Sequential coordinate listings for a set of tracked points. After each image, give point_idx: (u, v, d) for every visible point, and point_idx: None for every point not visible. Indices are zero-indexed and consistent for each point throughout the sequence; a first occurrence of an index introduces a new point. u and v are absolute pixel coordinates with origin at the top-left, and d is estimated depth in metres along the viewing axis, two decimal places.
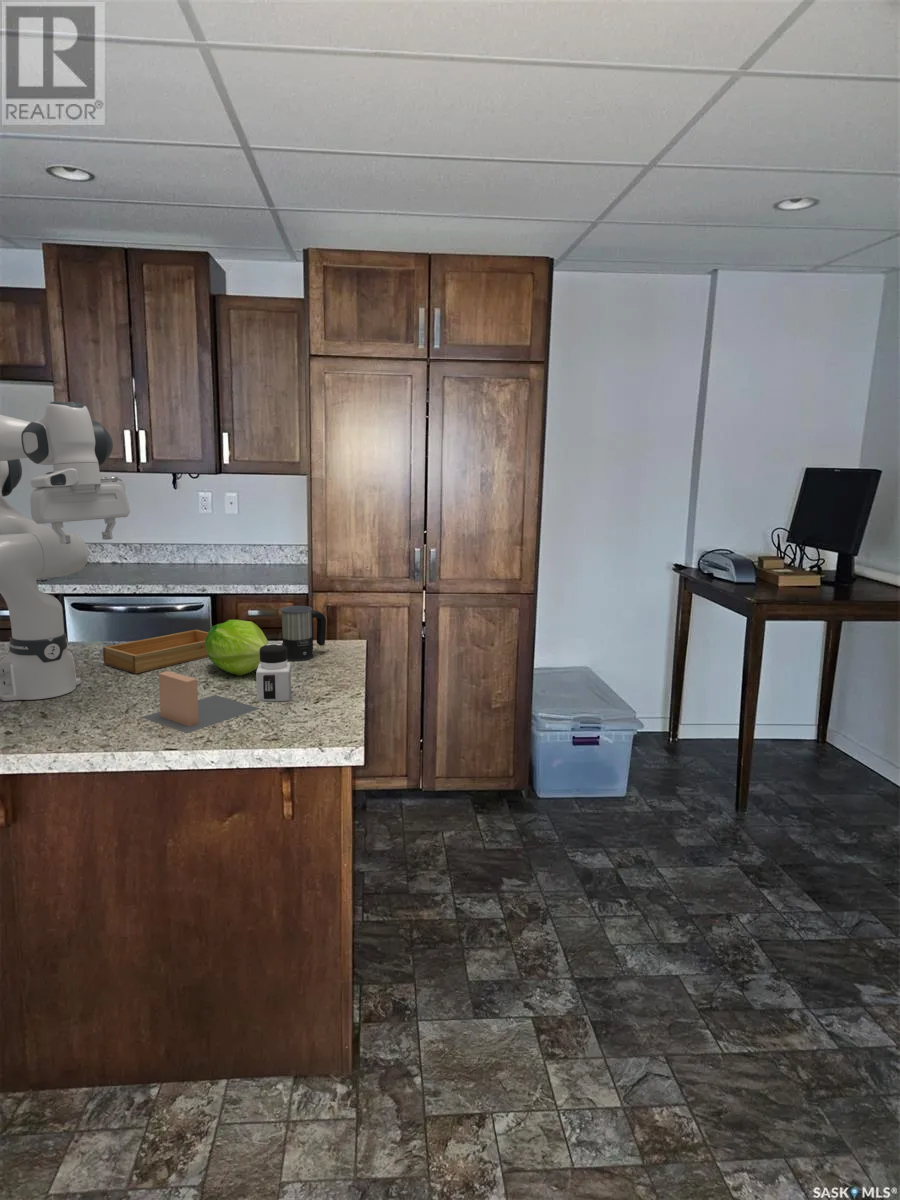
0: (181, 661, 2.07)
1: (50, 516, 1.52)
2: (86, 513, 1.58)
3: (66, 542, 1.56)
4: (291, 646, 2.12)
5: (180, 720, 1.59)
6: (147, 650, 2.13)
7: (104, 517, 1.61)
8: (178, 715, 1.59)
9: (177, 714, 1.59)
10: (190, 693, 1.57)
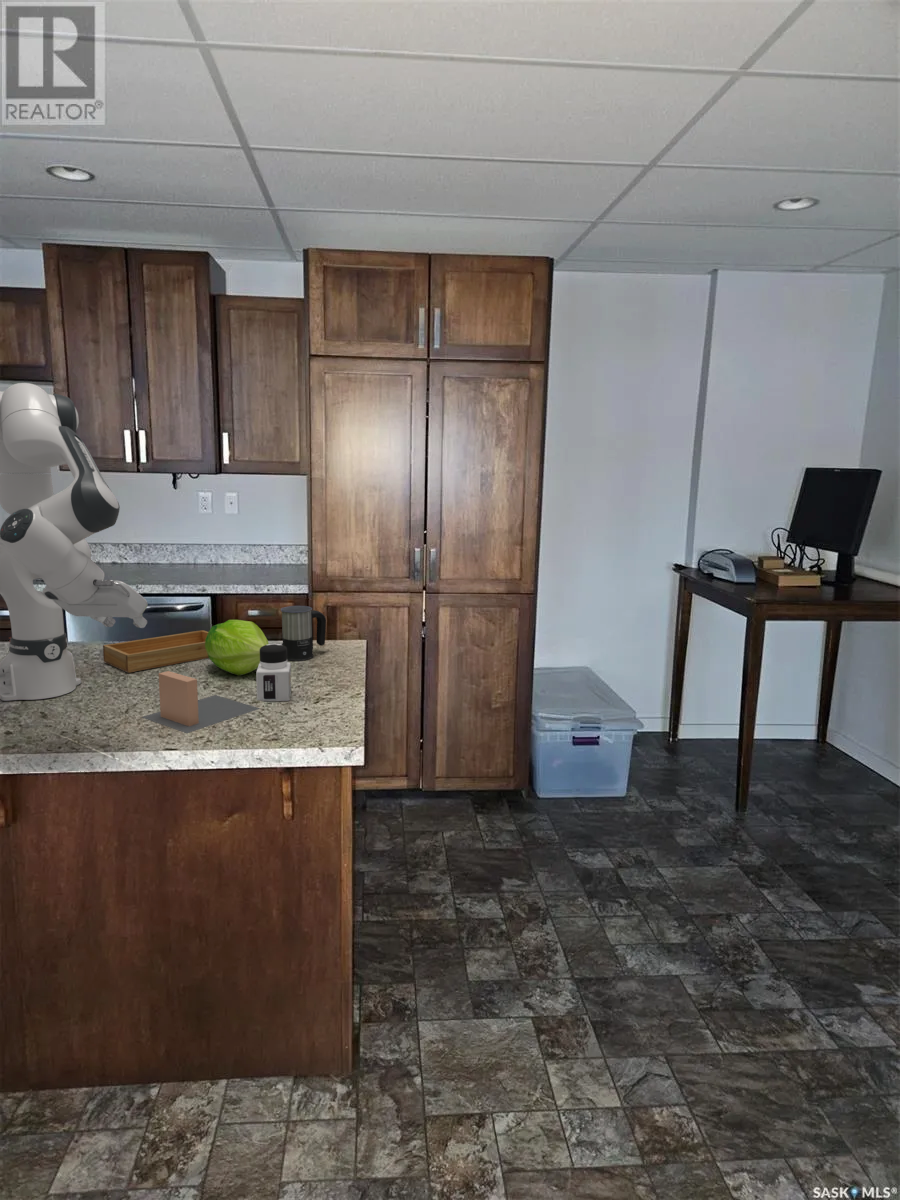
0: (178, 662, 2.06)
1: (75, 613, 1.47)
2: (100, 613, 1.44)
3: (108, 626, 1.50)
4: (291, 646, 2.12)
5: (180, 720, 1.59)
6: (149, 649, 2.14)
7: (118, 616, 1.43)
8: (178, 715, 1.59)
9: (177, 714, 1.59)
10: (190, 693, 1.57)
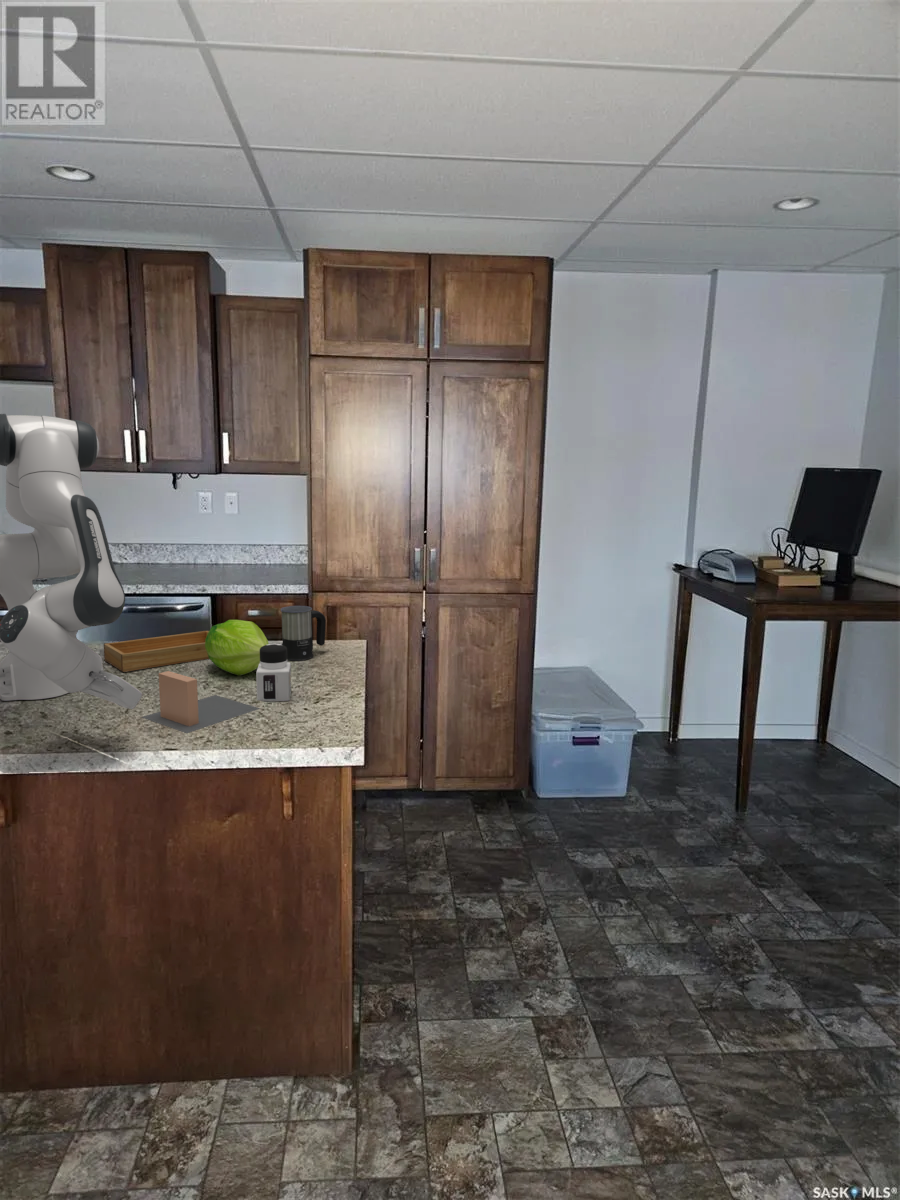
0: (175, 662, 2.06)
1: None
2: (99, 696, 1.45)
3: (121, 705, 1.50)
4: (291, 646, 2.12)
5: (180, 720, 1.59)
6: (151, 649, 2.15)
7: None
8: (178, 715, 1.59)
9: (177, 714, 1.59)
10: (190, 693, 1.57)
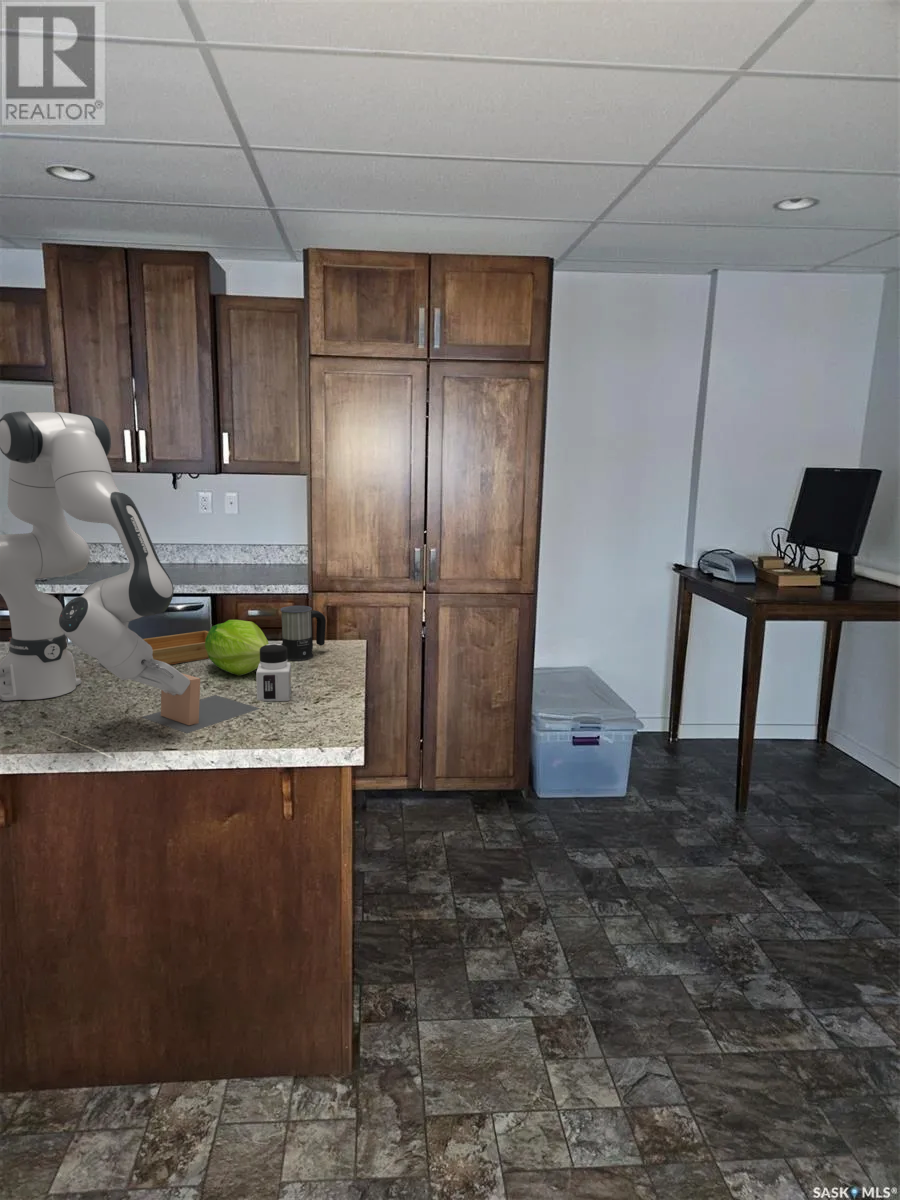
0: (176, 662, 2.06)
1: None
2: (148, 684, 1.54)
3: None
4: (291, 646, 2.12)
5: (180, 719, 1.59)
6: None
7: (164, 689, 1.53)
8: (179, 714, 1.59)
9: (178, 713, 1.60)
10: (193, 692, 1.58)
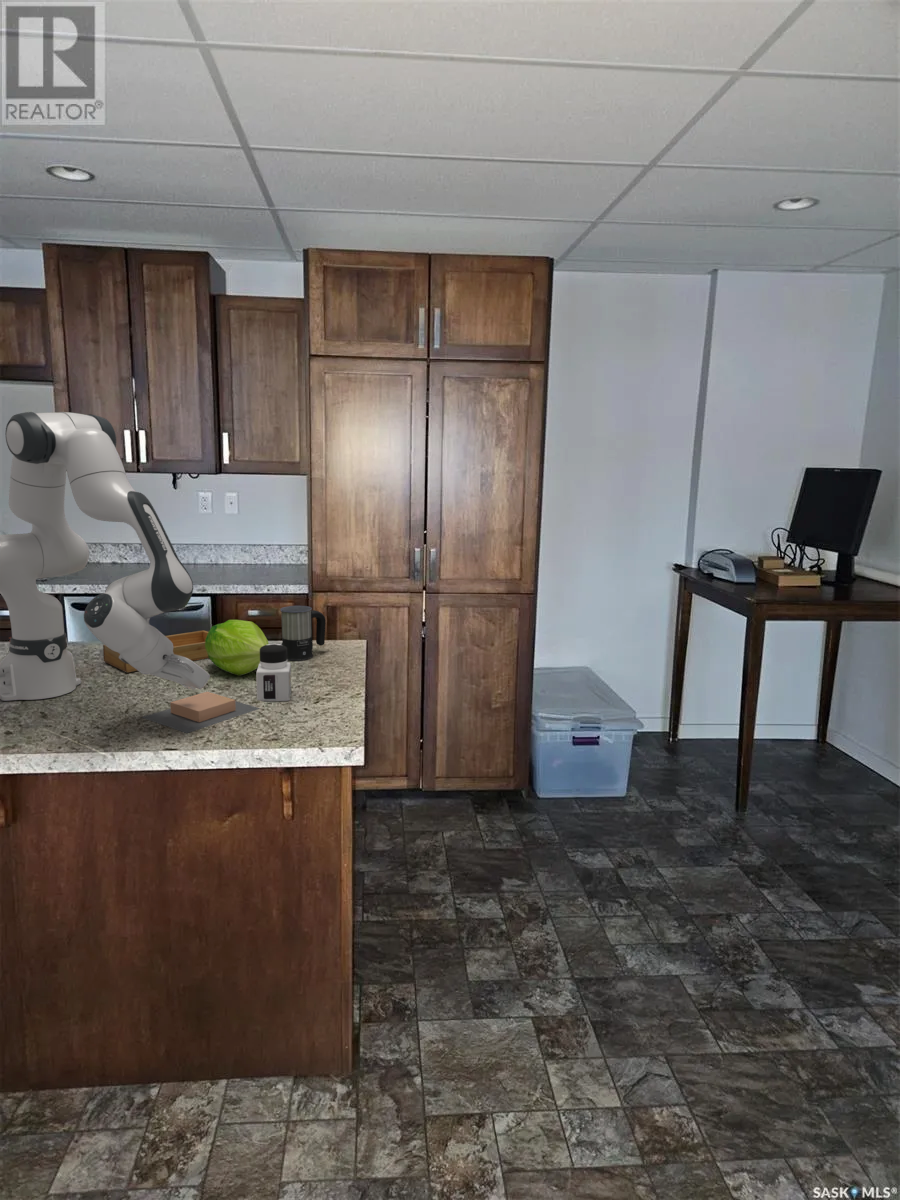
0: None
1: None
2: (169, 678, 1.58)
3: (186, 687, 1.63)
4: (291, 646, 2.12)
5: (192, 707, 1.62)
6: None
7: (184, 684, 1.57)
8: (195, 706, 1.63)
9: (194, 705, 1.63)
10: (225, 706, 1.65)
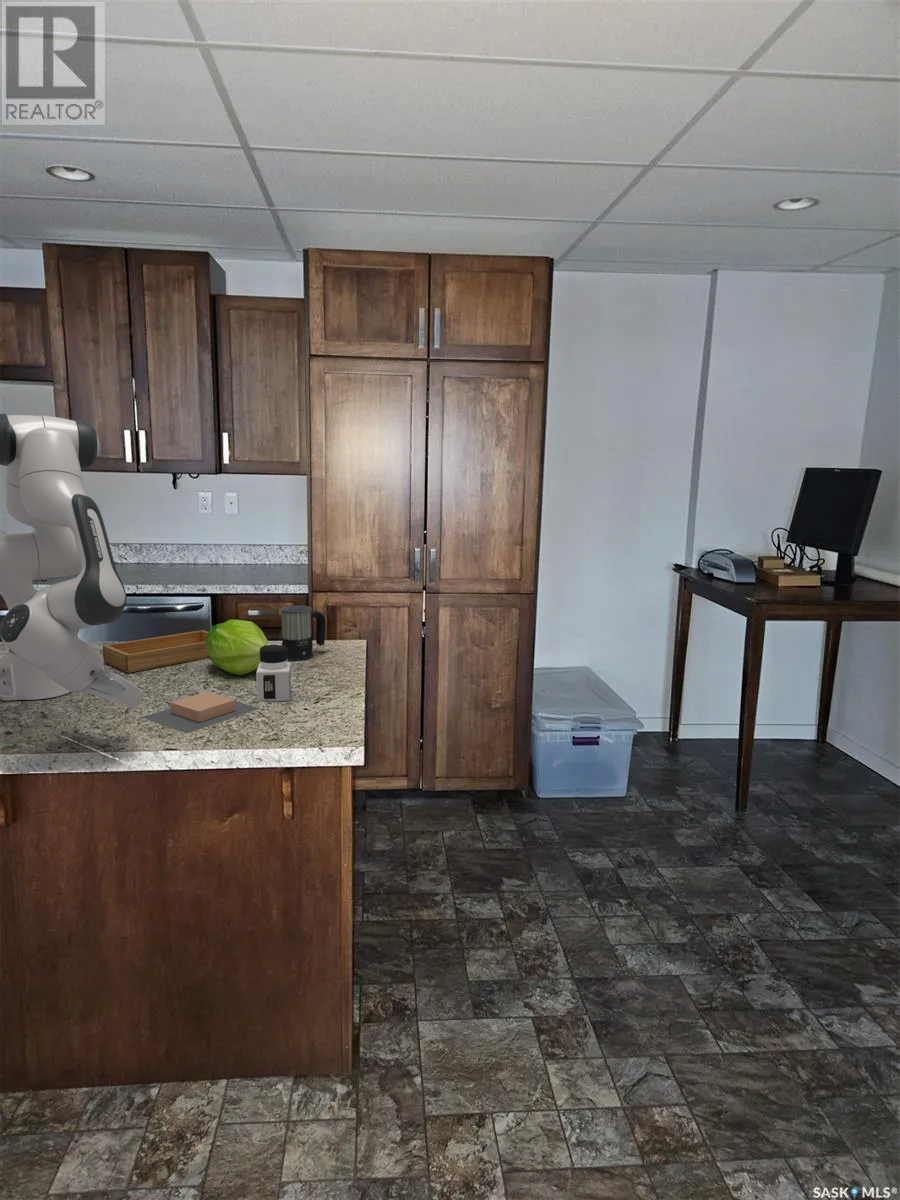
0: (178, 662, 2.06)
1: None
2: (100, 696, 1.45)
3: (122, 705, 1.50)
4: (291, 646, 2.12)
5: (192, 707, 1.62)
6: (149, 649, 2.14)
7: None
8: (195, 706, 1.63)
9: (194, 705, 1.63)
10: (225, 706, 1.65)
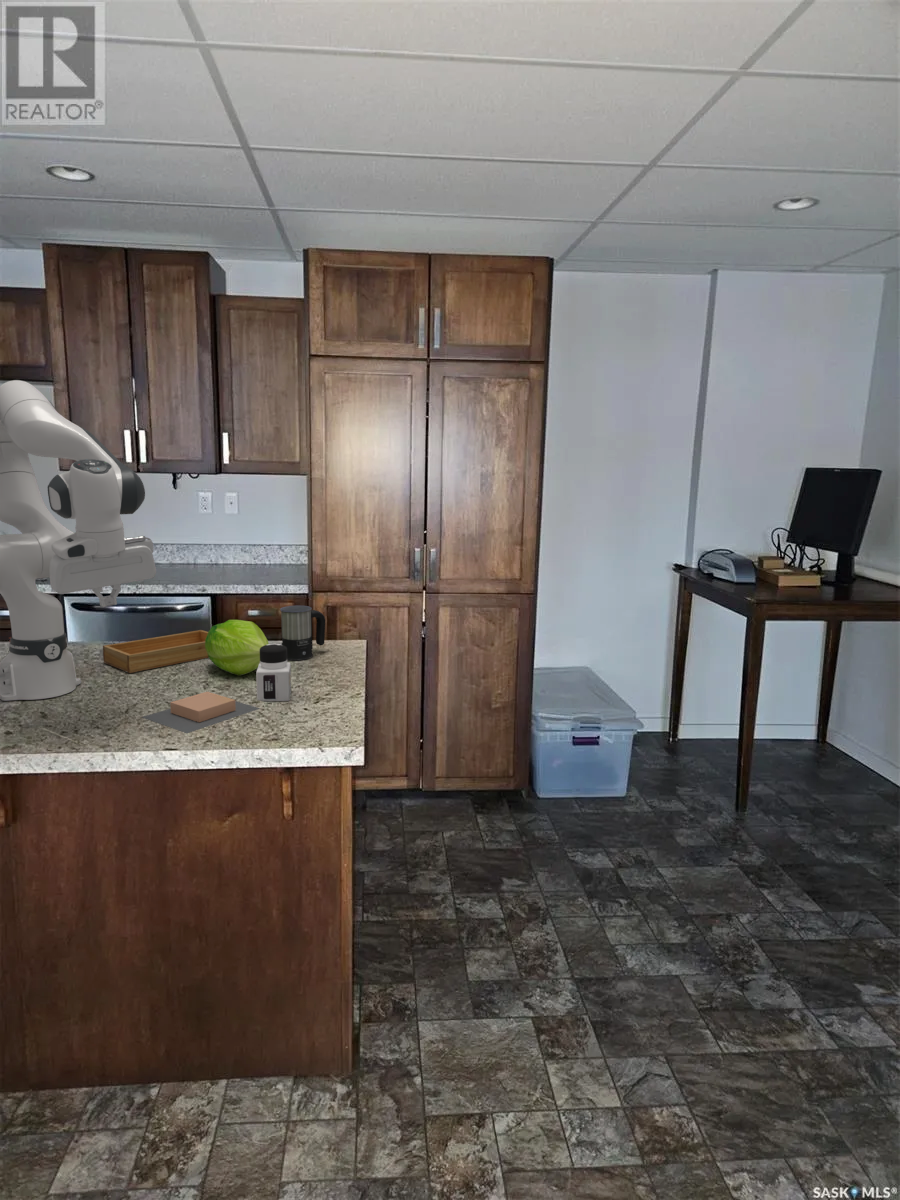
0: (178, 661, 2.06)
1: (67, 587, 1.45)
2: (107, 579, 1.50)
3: (105, 605, 1.52)
4: (291, 646, 2.12)
5: (192, 707, 1.62)
6: (149, 649, 2.14)
7: (127, 581, 1.53)
8: (195, 706, 1.63)
9: (194, 705, 1.63)
10: (225, 706, 1.65)
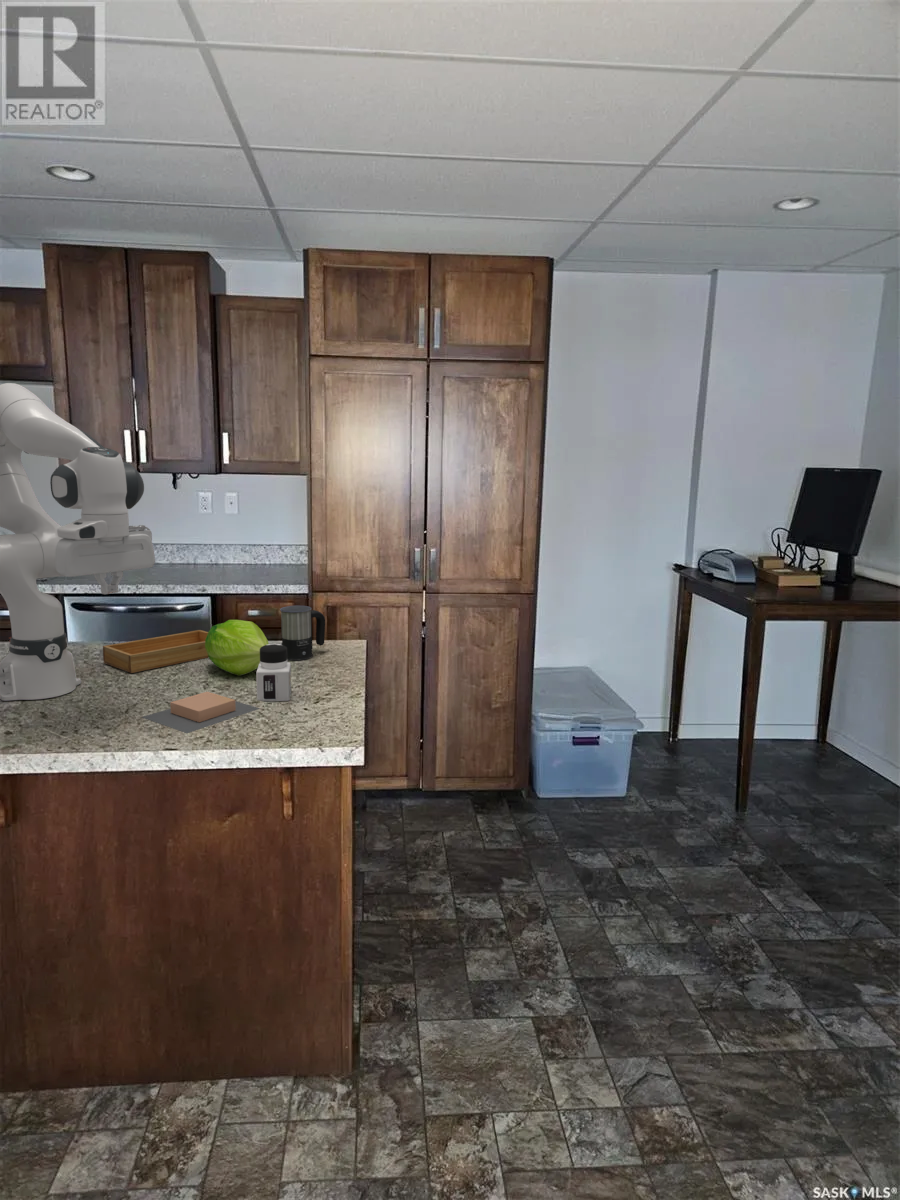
0: (179, 661, 2.07)
1: (76, 569, 1.45)
2: (112, 565, 1.52)
3: (108, 592, 1.53)
4: (291, 646, 2.12)
5: (192, 707, 1.62)
6: (148, 650, 2.14)
7: (129, 568, 1.55)
8: (195, 706, 1.63)
9: (194, 705, 1.63)
10: (225, 706, 1.65)
